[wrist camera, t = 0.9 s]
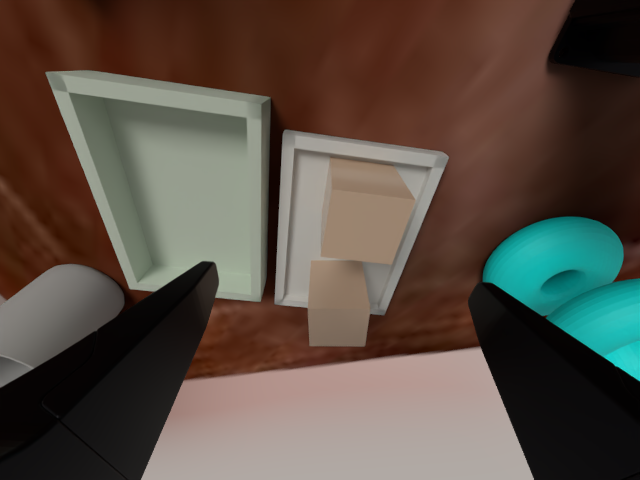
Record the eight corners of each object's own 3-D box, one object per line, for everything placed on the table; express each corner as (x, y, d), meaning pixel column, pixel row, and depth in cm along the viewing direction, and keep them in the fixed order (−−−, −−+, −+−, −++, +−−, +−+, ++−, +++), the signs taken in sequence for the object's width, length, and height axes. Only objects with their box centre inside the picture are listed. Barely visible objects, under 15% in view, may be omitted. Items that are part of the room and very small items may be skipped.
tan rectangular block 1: (393, 165, 18) (415, 199, 14) (377, 220, 21) (391, 264, 16) (330, 156, 18) (331, 189, 14) (321, 213, 21) (320, 256, 16)
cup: (75, 249, 24) (-37, 335, 16) (163, 313, 29) (108, 401, 21) (33, 279, 26) (-81, 366, 19) (122, 334, 31) (59, 420, 23)
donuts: (823, 292, 12) (701, 396, 17) (619, 197, 20) (580, 288, 26) (577, 324, 13) (537, 411, 19) (481, 223, 22) (472, 304, 27)
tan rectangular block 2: (361, 260, 23) (370, 309, 19) (357, 296, 26) (364, 346, 21) (310, 260, 23) (307, 308, 19) (312, 295, 26) (309, 345, 21)
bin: (270, 97, 17) (261, 104, 14) (266, 278, 25) (260, 301, 23) (88, 70, 16) (45, 72, 13) (149, 265, 25) (129, 288, 22)
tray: (442, 151, 18) (449, 156, 17) (381, 306, 27) (384, 315, 26) (285, 129, 18) (282, 133, 17) (276, 295, 27) (274, 304, 26)
